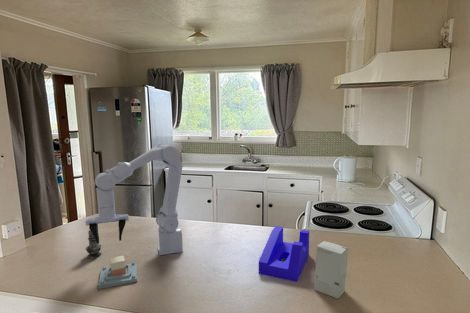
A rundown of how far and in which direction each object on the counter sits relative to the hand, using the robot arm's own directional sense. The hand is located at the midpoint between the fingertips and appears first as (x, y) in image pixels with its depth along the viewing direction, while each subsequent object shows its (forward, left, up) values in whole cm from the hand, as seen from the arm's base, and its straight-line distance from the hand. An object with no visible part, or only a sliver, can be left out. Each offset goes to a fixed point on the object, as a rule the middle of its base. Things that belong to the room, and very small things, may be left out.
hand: (109, 241), depth 114 cm
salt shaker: (+7, -12, -10) cm, 17 cm away
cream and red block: (-3, +9, -9) cm, 13 cm away
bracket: (-62, +21, -10) cm, 66 cm away
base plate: (-3, +9, -10) cm, 14 cm away
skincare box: (-67, +42, -10) cm, 80 cm away
